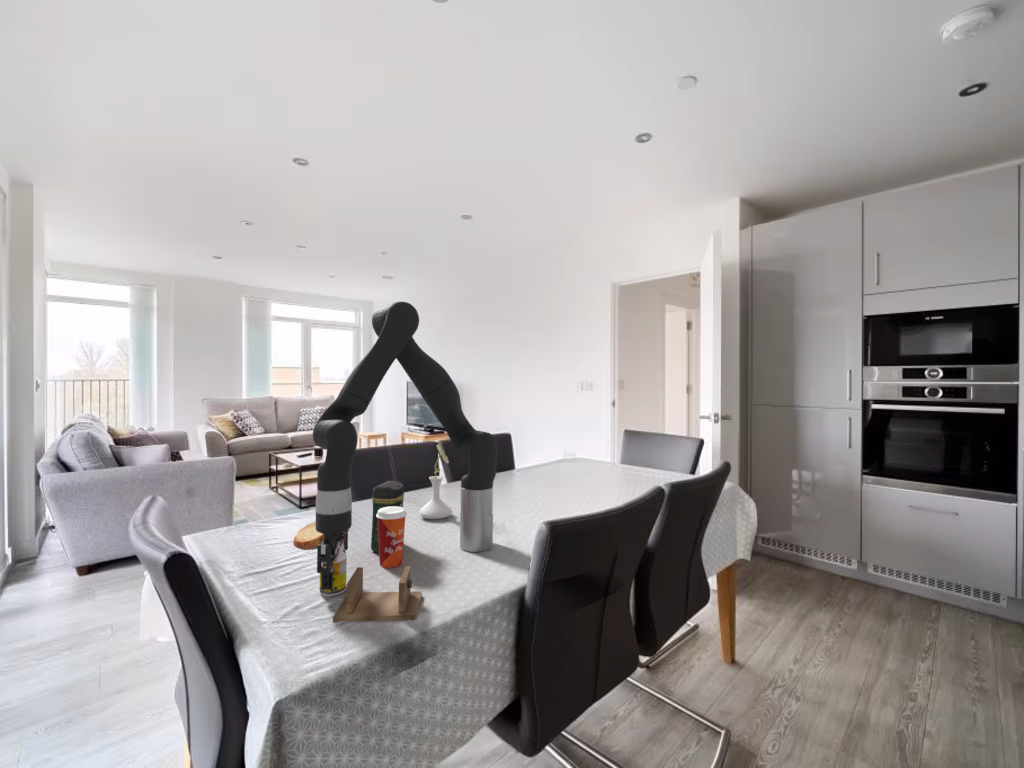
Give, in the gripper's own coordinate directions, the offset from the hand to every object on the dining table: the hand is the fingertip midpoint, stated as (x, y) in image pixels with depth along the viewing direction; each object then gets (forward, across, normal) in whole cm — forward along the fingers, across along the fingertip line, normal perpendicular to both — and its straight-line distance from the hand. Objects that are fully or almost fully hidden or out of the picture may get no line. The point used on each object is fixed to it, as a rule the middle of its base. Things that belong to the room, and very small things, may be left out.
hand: (333, 580), depth 101 cm
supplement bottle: (+3, 0, 0) cm, 3 cm away
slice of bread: (+3, +37, +15) cm, 40 cm away
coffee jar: (+3, +26, -7) cm, 27 cm away
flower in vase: (+3, +55, -18) cm, 58 cm away
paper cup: (+3, +15, -10) cm, 18 cm away
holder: (+2, -8, -12) cm, 15 cm away
